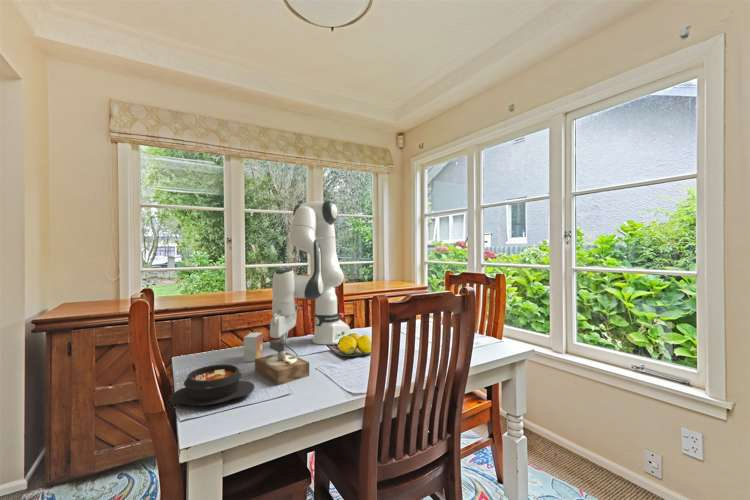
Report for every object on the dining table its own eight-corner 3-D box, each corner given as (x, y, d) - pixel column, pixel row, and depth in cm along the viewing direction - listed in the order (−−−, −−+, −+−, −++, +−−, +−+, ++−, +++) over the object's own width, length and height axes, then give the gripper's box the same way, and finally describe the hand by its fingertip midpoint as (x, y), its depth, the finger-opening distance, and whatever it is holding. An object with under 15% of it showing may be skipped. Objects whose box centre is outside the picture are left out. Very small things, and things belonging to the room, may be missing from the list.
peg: (294, 362, 129) (294, 344, 129) (285, 365, 126) (285, 346, 126) (276, 354, 138) (276, 337, 138) (268, 356, 136) (268, 338, 136)
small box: (256, 362, 145) (256, 337, 145) (243, 361, 145) (243, 337, 145) (263, 355, 153) (263, 332, 153) (250, 355, 153) (250, 332, 153)
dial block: (284, 363, 143) (284, 350, 143) (309, 375, 130) (309, 361, 130) (254, 371, 134) (254, 358, 134) (278, 385, 121) (277, 370, 121)
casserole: (160, 416, 99) (160, 387, 99) (178, 390, 117) (178, 365, 117) (252, 405, 106) (252, 378, 106) (256, 382, 124) (256, 359, 124)
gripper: (281, 314, 128) (281, 351, 128) (299, 304, 148) (299, 336, 148) (265, 313, 128) (265, 350, 129) (284, 304, 149) (284, 336, 149)
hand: (283, 343), depth 139 cm, fingers closed
